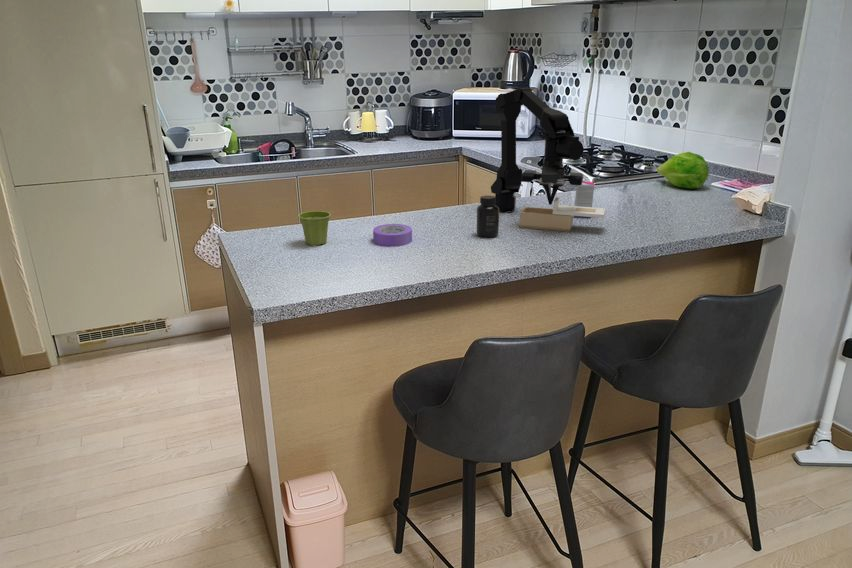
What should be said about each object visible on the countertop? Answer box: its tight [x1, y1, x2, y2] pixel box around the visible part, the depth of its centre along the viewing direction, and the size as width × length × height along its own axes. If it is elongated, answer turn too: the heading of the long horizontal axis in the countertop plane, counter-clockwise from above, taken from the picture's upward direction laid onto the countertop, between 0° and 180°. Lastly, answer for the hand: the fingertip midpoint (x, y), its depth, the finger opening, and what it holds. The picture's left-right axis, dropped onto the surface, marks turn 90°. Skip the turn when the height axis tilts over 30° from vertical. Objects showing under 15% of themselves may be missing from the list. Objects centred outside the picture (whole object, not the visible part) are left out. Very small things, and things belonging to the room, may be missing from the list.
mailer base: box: [518, 206, 574, 233], centre depth 214 cm, size 16×8×5 cm, turn 73°
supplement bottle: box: [476, 195, 500, 239], centre depth 204 cm, size 7×7×12 cm
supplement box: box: [573, 180, 595, 219], centre depth 225 cm, size 6×6×12 cm
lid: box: [552, 195, 606, 219], centre depth 210 cm, size 16×8×4 cm, turn 73°
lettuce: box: [656, 151, 710, 190], centre depth 269 cm, size 15×22×15 cm
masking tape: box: [372, 223, 413, 247], centre depth 201 cm, size 12×12×4 cm
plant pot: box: [297, 210, 332, 246], centre depth 198 cm, size 9×9×9 cm
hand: (550, 204), depth 212 cm, fingers closed
